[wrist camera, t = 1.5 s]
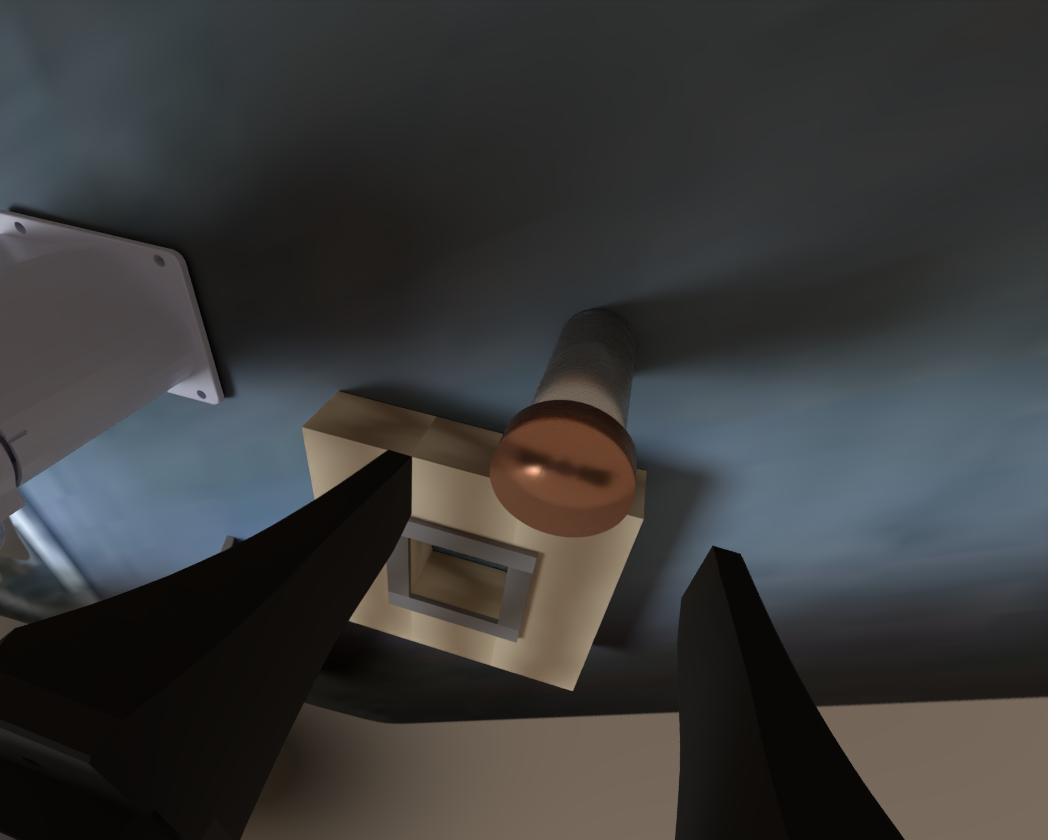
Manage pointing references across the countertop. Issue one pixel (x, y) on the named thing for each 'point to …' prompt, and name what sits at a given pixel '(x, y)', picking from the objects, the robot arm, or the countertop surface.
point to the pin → (574, 434)
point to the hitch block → (471, 547)
